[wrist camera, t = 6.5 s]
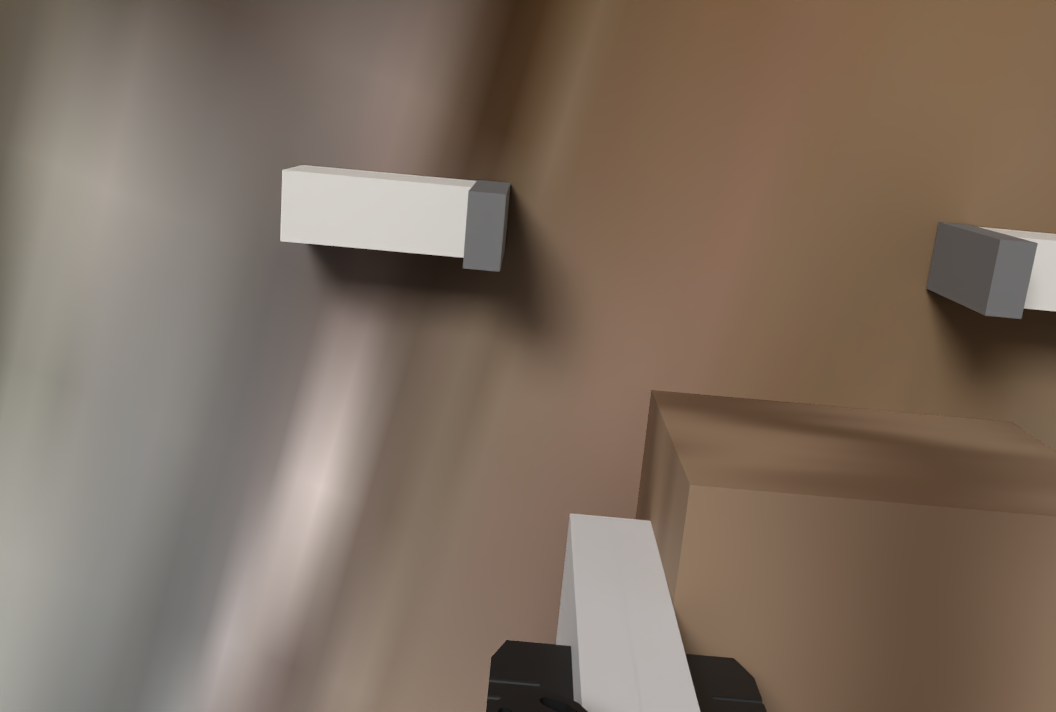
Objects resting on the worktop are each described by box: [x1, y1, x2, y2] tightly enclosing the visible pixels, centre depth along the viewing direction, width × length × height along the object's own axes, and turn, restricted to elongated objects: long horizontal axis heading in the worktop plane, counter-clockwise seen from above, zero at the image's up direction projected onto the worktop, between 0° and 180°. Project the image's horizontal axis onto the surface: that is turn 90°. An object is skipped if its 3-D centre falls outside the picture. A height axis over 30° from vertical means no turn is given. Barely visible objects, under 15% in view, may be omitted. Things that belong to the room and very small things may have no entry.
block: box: [636, 390, 1056, 712], centre depth 18 cm, size 7×7×5 cm
